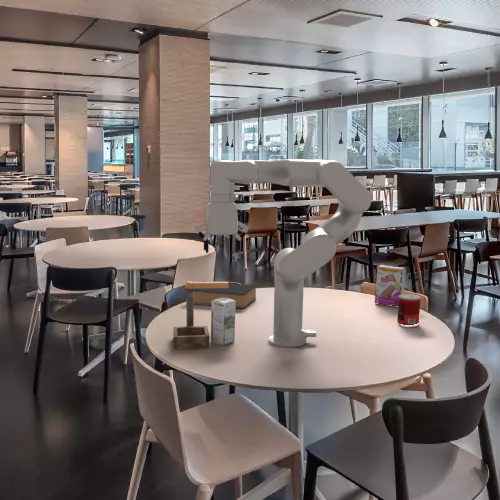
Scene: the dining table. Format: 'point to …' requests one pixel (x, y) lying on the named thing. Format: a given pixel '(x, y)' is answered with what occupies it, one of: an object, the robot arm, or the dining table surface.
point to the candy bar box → (389, 284)
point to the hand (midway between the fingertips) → (221, 252)
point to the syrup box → (223, 321)
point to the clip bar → (205, 285)
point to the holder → (191, 329)
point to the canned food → (408, 309)
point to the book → (226, 294)
